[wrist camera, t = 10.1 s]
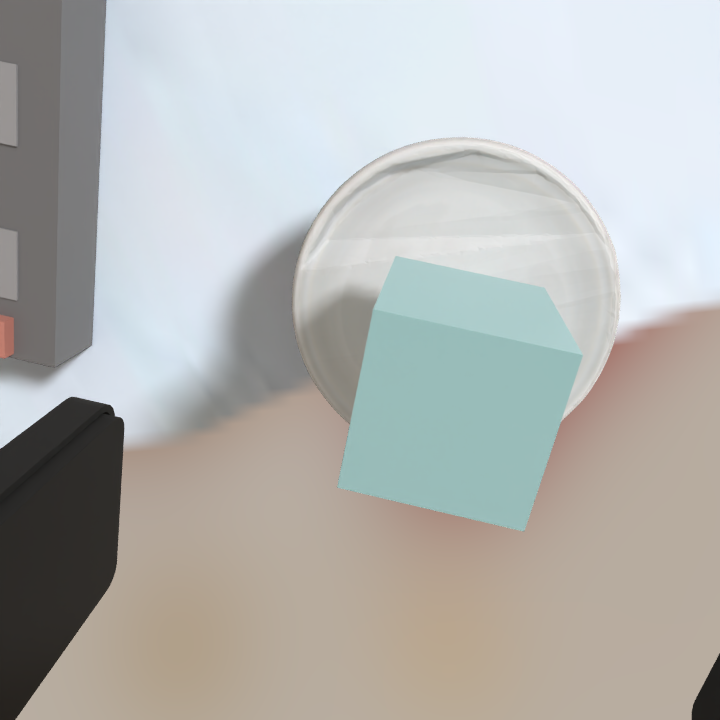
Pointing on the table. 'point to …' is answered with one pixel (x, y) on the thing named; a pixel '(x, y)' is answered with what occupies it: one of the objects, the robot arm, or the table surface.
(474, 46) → the table surface
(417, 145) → the ramekin
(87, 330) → the power strip
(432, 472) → the block
